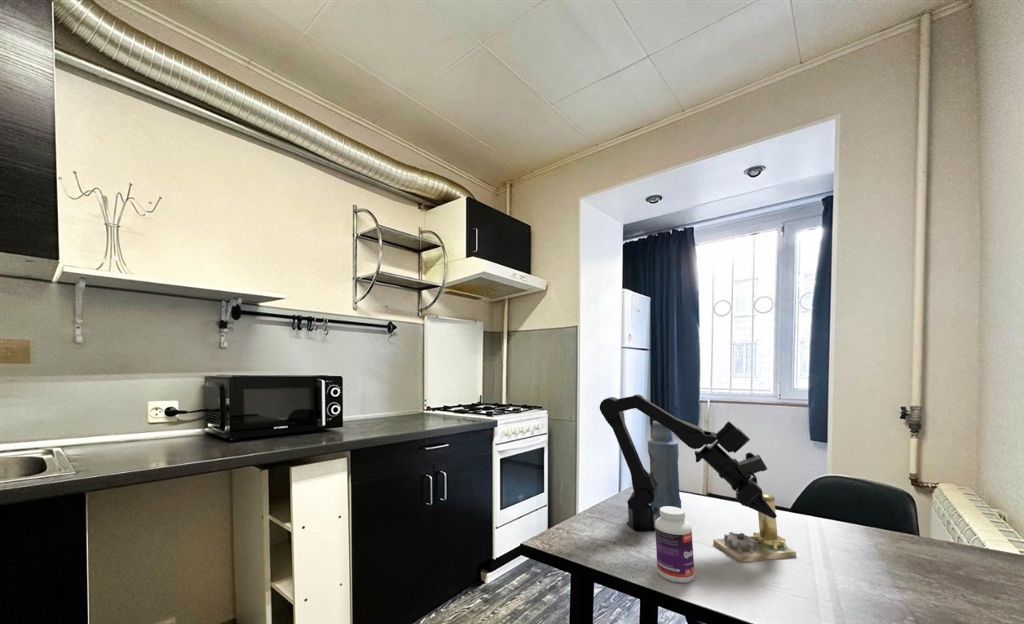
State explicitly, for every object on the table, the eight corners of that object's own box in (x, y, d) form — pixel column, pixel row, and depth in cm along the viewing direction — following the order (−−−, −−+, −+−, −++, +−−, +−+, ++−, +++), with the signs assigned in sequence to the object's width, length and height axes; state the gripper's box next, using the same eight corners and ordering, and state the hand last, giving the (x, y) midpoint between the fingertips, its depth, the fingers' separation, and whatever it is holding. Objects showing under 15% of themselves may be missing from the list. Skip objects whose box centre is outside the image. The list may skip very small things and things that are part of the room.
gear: (778, 552, 101) (773, 502, 102) (747, 541, 107) (744, 494, 108) (791, 544, 105) (786, 496, 106) (761, 534, 111) (757, 489, 112)
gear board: (739, 562, 99) (738, 545, 99) (713, 544, 108) (712, 529, 109) (799, 556, 101) (797, 540, 102) (768, 539, 111) (767, 524, 112)
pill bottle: (692, 589, 87) (687, 519, 89) (654, 578, 91) (650, 512, 93) (697, 572, 94) (693, 507, 96) (661, 563, 98) (658, 502, 100)
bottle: (647, 506, 137) (642, 417, 141) (677, 507, 136) (671, 417, 140) (654, 517, 128) (649, 421, 132) (686, 518, 127) (680, 421, 131)
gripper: (747, 451, 102) (804, 502, 96) (742, 438, 119) (790, 482, 113) (715, 479, 105) (768, 531, 99) (714, 463, 121) (760, 507, 115)
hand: (772, 511), depth 106 cm, fingers open, 9 cm apart
